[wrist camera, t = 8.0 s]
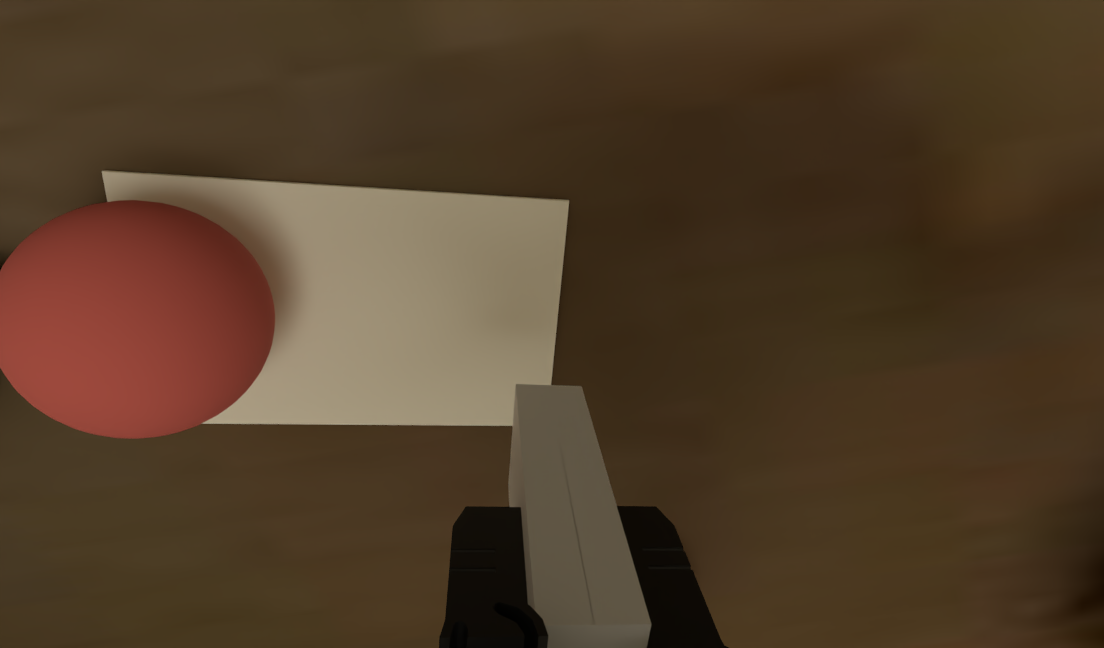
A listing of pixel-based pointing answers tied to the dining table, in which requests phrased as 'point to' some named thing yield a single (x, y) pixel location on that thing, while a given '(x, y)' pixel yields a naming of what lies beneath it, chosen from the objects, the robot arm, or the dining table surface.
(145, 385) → the ball
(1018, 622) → the dining table surface
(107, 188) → the cream flat rectangular slab
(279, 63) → the dining table surface
